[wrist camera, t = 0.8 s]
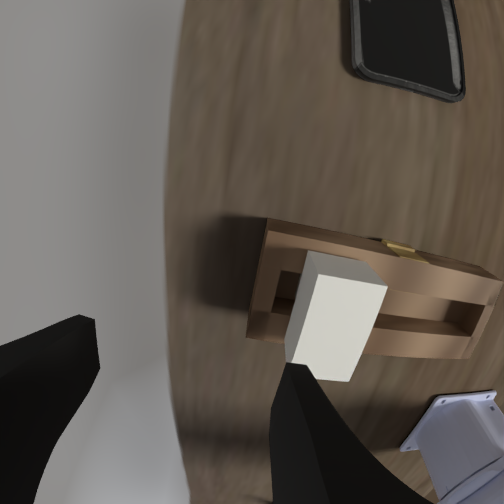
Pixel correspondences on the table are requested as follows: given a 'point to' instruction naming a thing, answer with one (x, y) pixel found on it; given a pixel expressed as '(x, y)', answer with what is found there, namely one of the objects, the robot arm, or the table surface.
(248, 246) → the table surface
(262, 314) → the brown wooden frame
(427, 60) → the phone
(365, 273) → the block
